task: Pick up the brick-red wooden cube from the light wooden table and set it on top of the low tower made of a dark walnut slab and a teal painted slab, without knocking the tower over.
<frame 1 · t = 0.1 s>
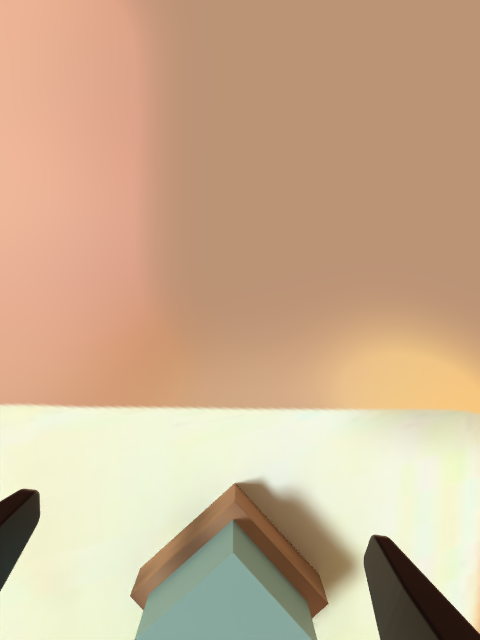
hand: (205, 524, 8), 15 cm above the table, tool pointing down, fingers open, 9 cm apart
tower top: (228, 597, 21), point 2 cm above the table, touching tower base
tower base: (230, 564, 24), on the table, touching tower top
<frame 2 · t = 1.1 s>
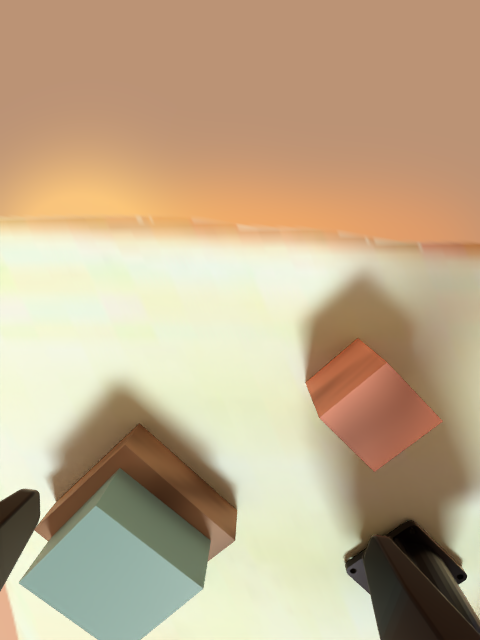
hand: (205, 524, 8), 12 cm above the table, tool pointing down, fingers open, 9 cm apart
tower top: (129, 539, 21), point 2 cm above the table
tower base: (148, 500, 24), on the table
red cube: (353, 383, 20), on the table
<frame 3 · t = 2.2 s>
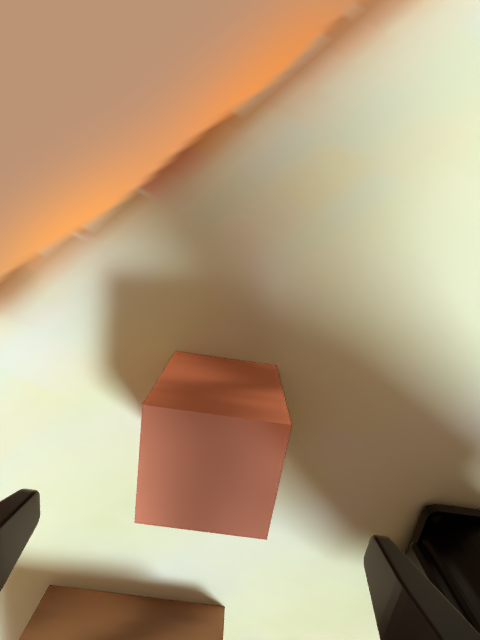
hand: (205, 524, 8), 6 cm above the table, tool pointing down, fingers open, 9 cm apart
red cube: (219, 402, 14), on the table
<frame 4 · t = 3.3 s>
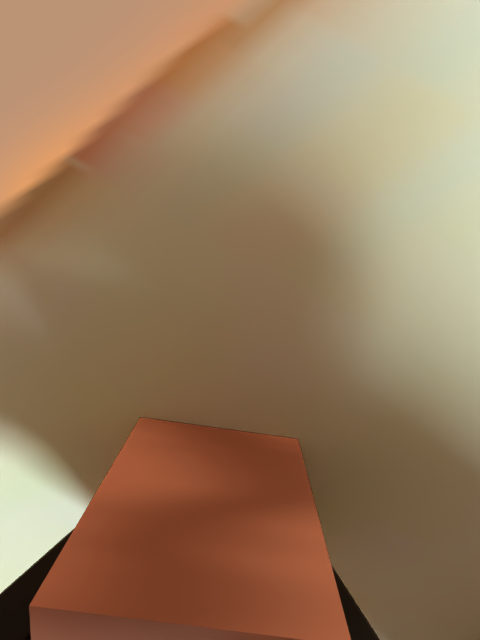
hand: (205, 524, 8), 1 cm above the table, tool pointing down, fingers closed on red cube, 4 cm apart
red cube: (210, 492, 9), on the table, touching gripper
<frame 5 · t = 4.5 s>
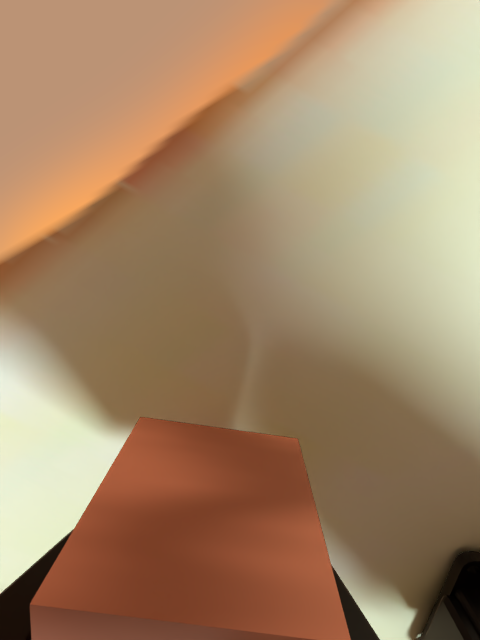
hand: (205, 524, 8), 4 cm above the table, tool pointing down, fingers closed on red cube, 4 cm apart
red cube: (210, 491, 9), point 3 cm above the table, touching gripper
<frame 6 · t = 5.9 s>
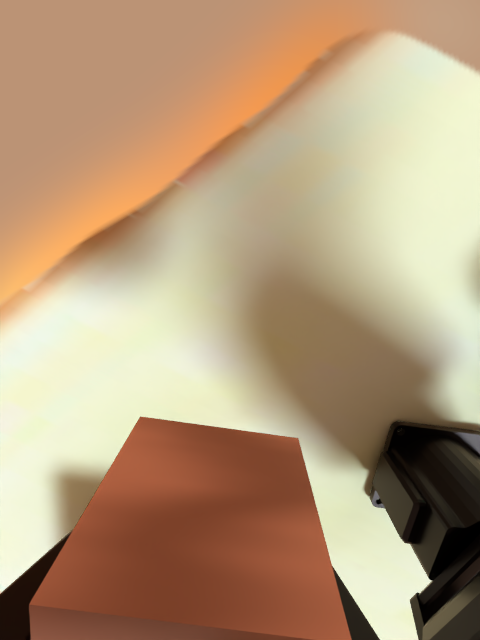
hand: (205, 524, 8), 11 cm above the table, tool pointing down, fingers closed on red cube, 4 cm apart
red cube: (210, 491, 9), point 10 cm above the table, touching gripper
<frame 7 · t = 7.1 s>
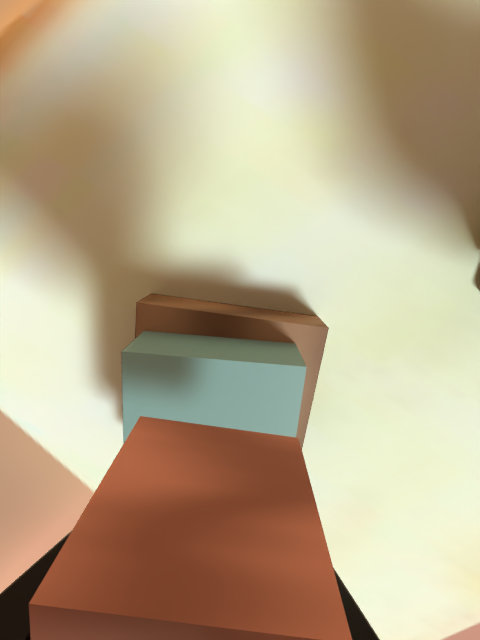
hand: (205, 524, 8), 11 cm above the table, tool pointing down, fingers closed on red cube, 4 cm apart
tower top: (215, 404, 17), point 2 cm above the table, touching tower base
tower base: (225, 377, 20), on the table, touching tower top
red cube: (210, 491, 9), point 10 cm above the table, touching gripper
when the fingers open (8 cm above the table, at t = 8.4 s): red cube drops 2 cm, resting on tower top.
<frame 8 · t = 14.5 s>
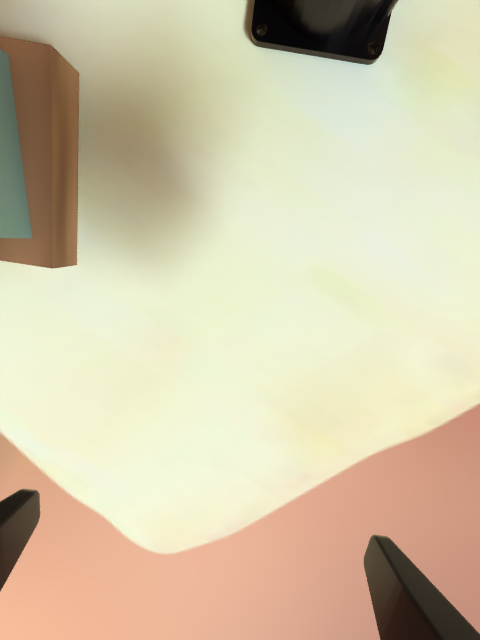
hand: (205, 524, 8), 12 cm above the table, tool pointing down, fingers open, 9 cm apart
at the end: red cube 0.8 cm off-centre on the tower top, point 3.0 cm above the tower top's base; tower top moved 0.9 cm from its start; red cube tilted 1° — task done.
